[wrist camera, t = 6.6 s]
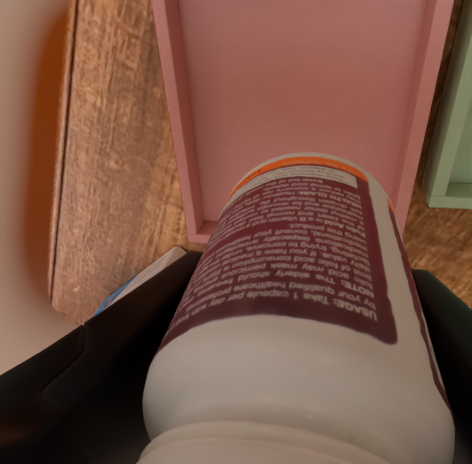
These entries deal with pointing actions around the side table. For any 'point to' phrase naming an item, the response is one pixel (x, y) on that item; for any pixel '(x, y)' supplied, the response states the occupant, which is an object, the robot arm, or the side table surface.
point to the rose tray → (296, 89)
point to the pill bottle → (300, 333)
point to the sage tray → (453, 128)
